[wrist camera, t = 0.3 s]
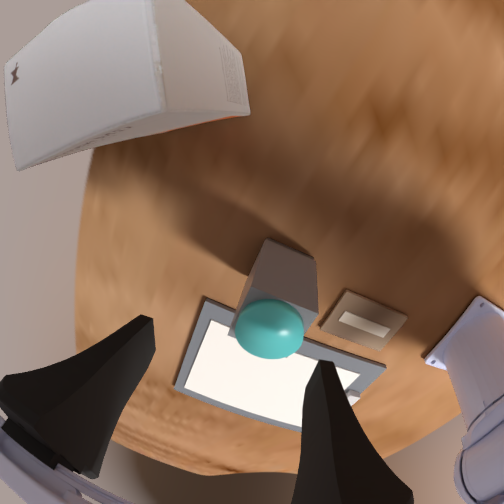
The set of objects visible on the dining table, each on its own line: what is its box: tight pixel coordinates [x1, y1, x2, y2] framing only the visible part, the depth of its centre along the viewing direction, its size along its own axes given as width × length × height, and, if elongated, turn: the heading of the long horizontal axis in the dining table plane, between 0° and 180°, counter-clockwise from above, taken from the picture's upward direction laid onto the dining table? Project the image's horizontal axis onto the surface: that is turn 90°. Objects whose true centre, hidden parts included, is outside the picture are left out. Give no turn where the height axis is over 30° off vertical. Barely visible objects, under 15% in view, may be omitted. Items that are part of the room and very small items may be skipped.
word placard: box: [320, 289, 408, 351], centre depth 21 cm, size 6×4×1 cm, turn 68°
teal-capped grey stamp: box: [228, 237, 319, 359], centre depth 17 cm, size 4×4×7 cm
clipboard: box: [174, 298, 387, 432], centre depth 25 cm, size 17×14×1 cm
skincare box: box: [4, 0, 250, 171], centre depth 10 cm, size 6×4×12 cm
